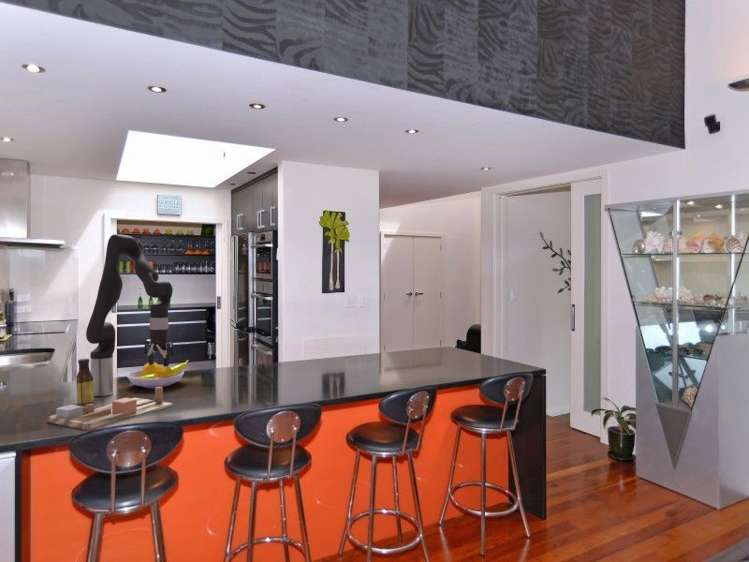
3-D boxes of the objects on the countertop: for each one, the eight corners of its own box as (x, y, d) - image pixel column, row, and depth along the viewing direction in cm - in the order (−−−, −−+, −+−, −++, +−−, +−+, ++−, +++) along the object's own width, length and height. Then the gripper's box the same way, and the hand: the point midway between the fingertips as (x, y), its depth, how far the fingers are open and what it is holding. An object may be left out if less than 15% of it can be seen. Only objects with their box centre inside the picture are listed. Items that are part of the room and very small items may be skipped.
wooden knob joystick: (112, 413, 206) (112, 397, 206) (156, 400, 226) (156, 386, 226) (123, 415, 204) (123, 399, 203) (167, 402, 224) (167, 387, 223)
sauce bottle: (96, 403, 225) (96, 357, 224) (89, 407, 219) (89, 360, 218) (81, 403, 225) (81, 357, 224) (73, 407, 218) (73, 360, 218)
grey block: (56, 421, 196) (56, 408, 195) (87, 412, 208) (87, 400, 207) (67, 423, 193) (67, 410, 193) (99, 414, 205) (98, 402, 205)
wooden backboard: (47, 424, 195) (47, 416, 195) (135, 399, 232) (135, 393, 232) (87, 432, 186) (87, 424, 186) (172, 405, 223) (172, 398, 223)
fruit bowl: (123, 393, 244) (122, 368, 244) (133, 380, 270) (133, 358, 270) (186, 389, 251) (186, 366, 251) (190, 377, 278) (190, 356, 277)
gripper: (178, 328, 223) (177, 365, 224) (153, 325, 229) (153, 362, 229) (164, 330, 216) (164, 368, 217) (139, 327, 222) (139, 365, 222)
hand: (158, 365), depth 223 cm, fingers open, 8 cm apart
